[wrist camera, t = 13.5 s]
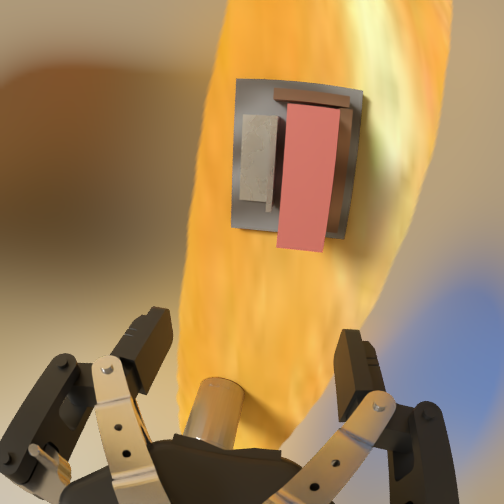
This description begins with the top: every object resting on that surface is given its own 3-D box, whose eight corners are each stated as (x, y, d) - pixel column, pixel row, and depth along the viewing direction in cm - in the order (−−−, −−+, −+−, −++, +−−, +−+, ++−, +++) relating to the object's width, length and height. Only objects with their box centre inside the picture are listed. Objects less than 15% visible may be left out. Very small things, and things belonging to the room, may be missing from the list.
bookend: (273, 201, 33) (271, 212, 29) (240, 198, 33) (233, 209, 30) (279, 116, 28) (277, 115, 25) (243, 114, 29) (236, 113, 25)
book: (325, 113, 27) (340, 109, 19) (315, 215, 33) (322, 252, 24) (289, 109, 28) (287, 103, 19) (281, 211, 33) (276, 247, 24)
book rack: (342, 234, 35) (349, 253, 30) (233, 223, 36) (223, 240, 32) (359, 92, 27) (372, 87, 22) (238, 80, 28) (228, 73, 24)
